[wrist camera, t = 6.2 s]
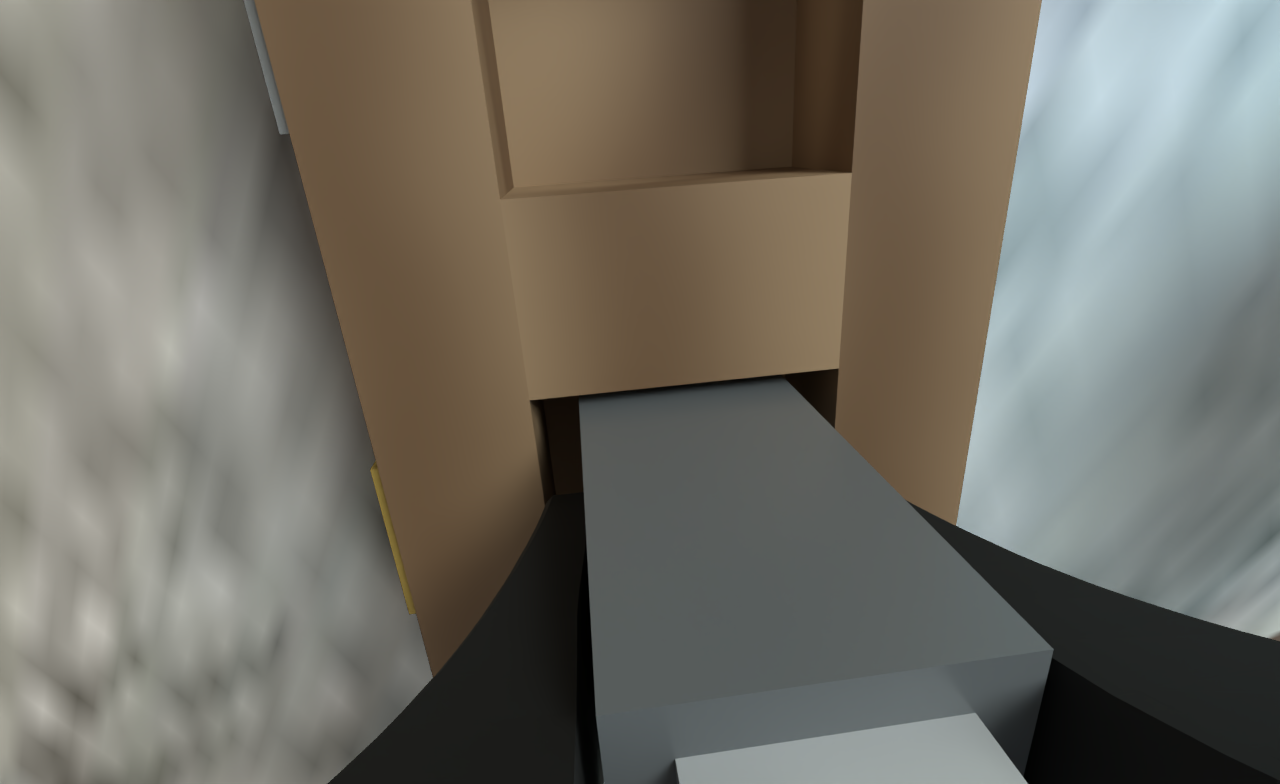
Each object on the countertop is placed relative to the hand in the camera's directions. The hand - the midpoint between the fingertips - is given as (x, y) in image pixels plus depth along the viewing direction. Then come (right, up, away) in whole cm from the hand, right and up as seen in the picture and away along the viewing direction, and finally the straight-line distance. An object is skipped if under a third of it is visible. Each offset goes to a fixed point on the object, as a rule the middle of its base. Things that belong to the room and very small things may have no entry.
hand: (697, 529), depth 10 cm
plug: (0, +1, +2) cm, 2 cm away
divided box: (-1, +5, +2) cm, 5 cm away
